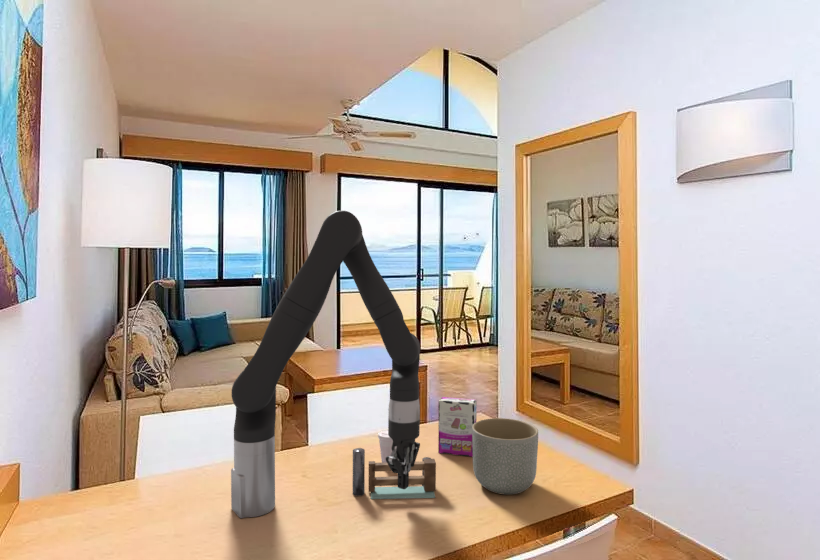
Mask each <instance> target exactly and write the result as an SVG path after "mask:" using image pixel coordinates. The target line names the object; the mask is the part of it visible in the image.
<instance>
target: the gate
mask: <svg viewBox="0 0 820 560" xmlns="http://www.w3.org/2000/svg"><path fill="white" fill-rule="evenodd" d="M436 467H437V462H436V459H435V458H431V459H424V461H422V460H421V461H415V464H414V466H413V467H411V470H410V472H412V471H422V470H424V472H423V476H422V475H409V486H420V485H421V486H422V485H423V487H424V491H434V492H436V490H437V489H436V486H437V485H436V484H437V481H436V478H437V473H436V472H437V470H436V469H437V468H436ZM376 472H392V470H391V469H390V467H389V465H388V463H387V462H383V463H382V462H376V461H374V460H371V461H370V460H369V461H368V493H371V492H375V487H394V486H398V475H396V476H376Z"/></svg>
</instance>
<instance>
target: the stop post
mask: <svg viewBox="0 0 820 560" xmlns="http://www.w3.org/2000/svg"><path fill="white" fill-rule="evenodd" d="M421 459H422V460H421V461H424V459H432V458H431V457H429V456H427V457H426V456H424V457H423V458H421ZM421 471H422V473H421V474H422V475H421V476H423V472H424V470H421ZM421 486H423V485H421Z"/></svg>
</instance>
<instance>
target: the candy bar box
mask: <svg viewBox="0 0 820 560" xmlns="http://www.w3.org/2000/svg"><path fill="white" fill-rule="evenodd" d="M477 401H478V400H477V399H473V398H461V397H460V398H459V397H448V396H447V397H446V396H442V397H440V399H439V400H438V408H437V409H438V434H437V435H438V436H437V437H438V439H437V440H438V443H437V445H438V447H437V450H438V454H441V455H442V454H443V455H450V456H462V457H468V458H470V457H471V458H473V448H472V426H473V424H474V423H476V422H477V409H478V408H477V406H478V405H477Z"/></svg>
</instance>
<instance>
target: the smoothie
mask: <svg viewBox="0 0 820 560" xmlns="http://www.w3.org/2000/svg"><path fill="white" fill-rule="evenodd" d="M377 439H378V440H379V449H380V450H379V451H380V459H381V463H383V462H386V457H387V456H390V455H391V453H392V444H393V440H392V439H391V438H390V437H389V435H388V429H385V430H384V429H383V430H381V431H379V432H378V433H377Z"/></svg>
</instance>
